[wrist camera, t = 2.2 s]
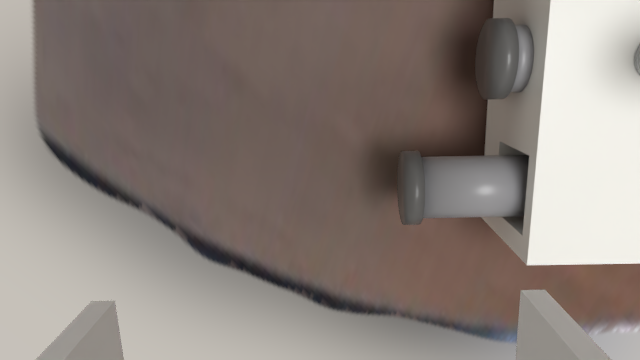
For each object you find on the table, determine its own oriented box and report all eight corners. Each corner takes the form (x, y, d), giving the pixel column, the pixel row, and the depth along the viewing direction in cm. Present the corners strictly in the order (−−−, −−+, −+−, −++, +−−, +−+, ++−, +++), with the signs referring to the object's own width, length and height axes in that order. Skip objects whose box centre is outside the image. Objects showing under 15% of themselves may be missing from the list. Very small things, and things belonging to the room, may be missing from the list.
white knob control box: (471, -129, 32) (526, -199, 23) (686, -136, 31) (825, -209, 23) (454, 217, 38) (493, 265, 29) (635, 214, 37) (729, 261, 29)
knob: (397, 145, 33) (409, 159, 29) (529, 142, 33) (562, 156, 28) (396, 211, 34) (407, 235, 30) (523, 209, 34) (554, 233, 30)
